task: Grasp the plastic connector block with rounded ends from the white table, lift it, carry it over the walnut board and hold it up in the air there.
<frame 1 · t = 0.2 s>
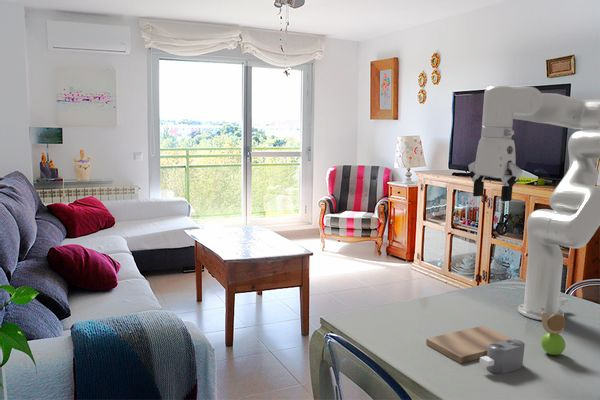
hand: (491, 198, 140), 36 cm above the table, tool pointing down, fingers open, 9 cm apart
snail figurine: (550, 354, 130), on the table
walnut board: (472, 345, 134), on the table
connector block: (504, 367, 122), on the table
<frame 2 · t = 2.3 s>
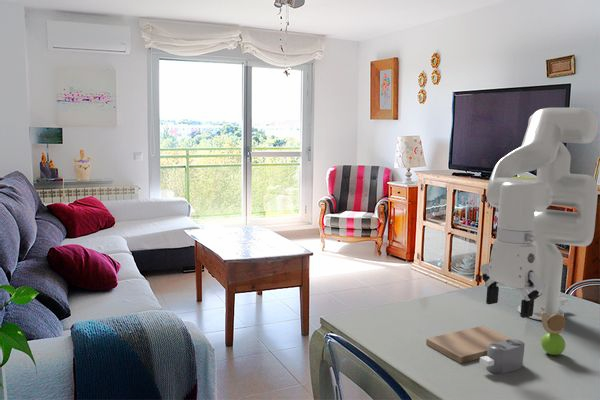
hand: (508, 309, 120), 14 cm above the table, tool pointing down, fingers open, 9 cm apart
nothing on the table moved.
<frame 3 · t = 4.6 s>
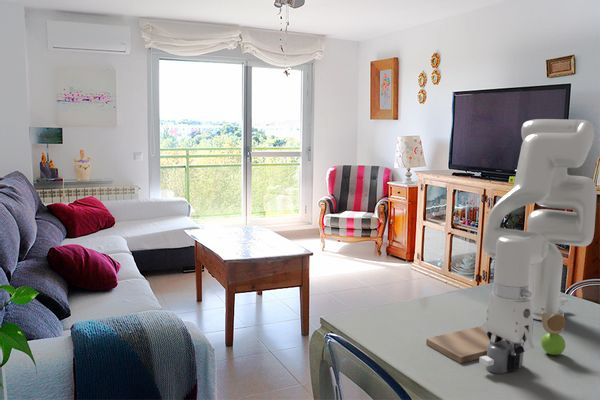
hand: (504, 365, 122), 1 cm above the table, tool pointing down, fingers closed on connector block, 3 cm apart
connector block: (504, 367, 122), on the table, touching gripper
everything else where it was.
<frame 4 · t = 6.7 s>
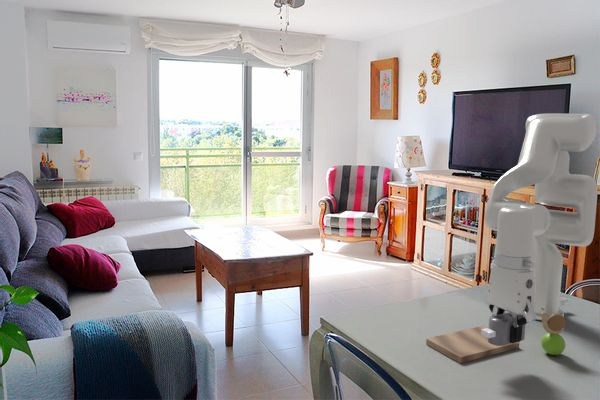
hand: (506, 337, 121), 7 cm above the table, tool pointing down, fingers closed on connector block, 4 cm apart
connector block: (506, 339, 121), point 7 cm above the table, touching gripper
everything else where it was.
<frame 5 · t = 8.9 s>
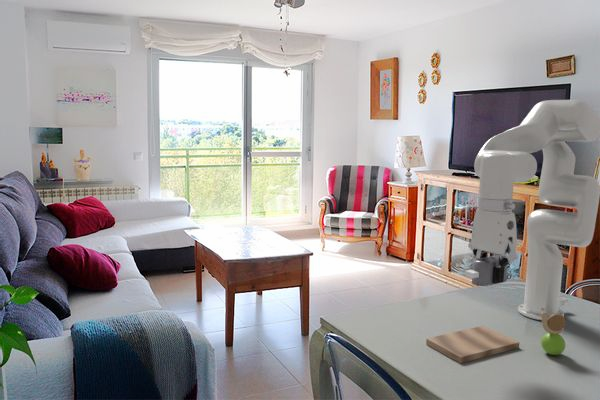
hand: (489, 279, 127), 19 cm above the table, tool pointing down, fingers closed on connector block, 4 cm apart
connector block: (489, 281, 127), point 18 cm above the table, touching gripper
everything else where it was.
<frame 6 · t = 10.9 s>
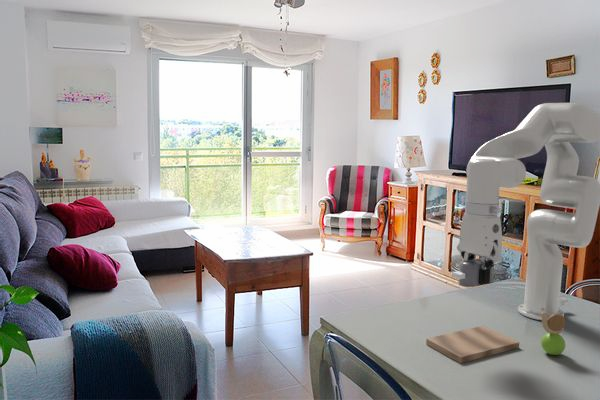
hand: (476, 280, 131), 17 cm above the table, tool pointing down, fingers closed on connector block, 4 cm apart
connector block: (475, 282, 131), point 17 cm above the table, touching gripper
everything else where it was.
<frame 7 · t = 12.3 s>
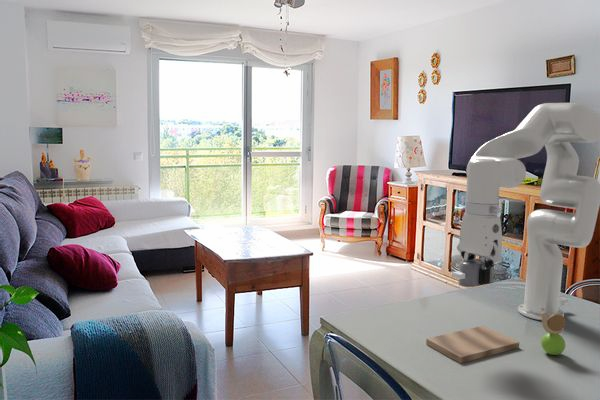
hand: (476, 280, 131), 17 cm above the table, tool pointing down, fingers closed on connector block, 4 cm apart
connector block: (475, 282, 131), point 17 cm above the table, touching gripper
everything else where it was.
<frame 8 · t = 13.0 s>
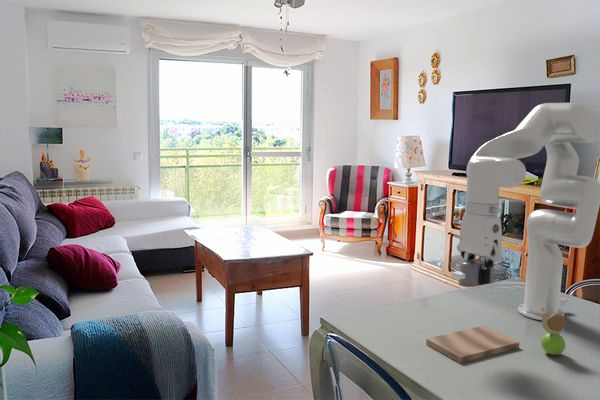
hand: (476, 280, 131), 17 cm above the table, tool pointing down, fingers closed on connector block, 4 cm apart
connector block: (475, 282, 131), point 17 cm above the table, touching gripper
everything else where it was.
at the end: the gripper is holding connector block; connector block point 16.7 cm above the table; connector block 0.2 cm from the walnut board (horizontally) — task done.
